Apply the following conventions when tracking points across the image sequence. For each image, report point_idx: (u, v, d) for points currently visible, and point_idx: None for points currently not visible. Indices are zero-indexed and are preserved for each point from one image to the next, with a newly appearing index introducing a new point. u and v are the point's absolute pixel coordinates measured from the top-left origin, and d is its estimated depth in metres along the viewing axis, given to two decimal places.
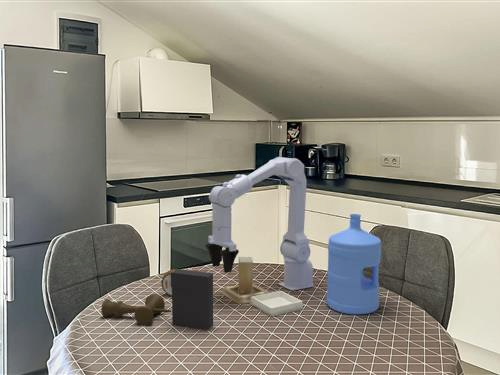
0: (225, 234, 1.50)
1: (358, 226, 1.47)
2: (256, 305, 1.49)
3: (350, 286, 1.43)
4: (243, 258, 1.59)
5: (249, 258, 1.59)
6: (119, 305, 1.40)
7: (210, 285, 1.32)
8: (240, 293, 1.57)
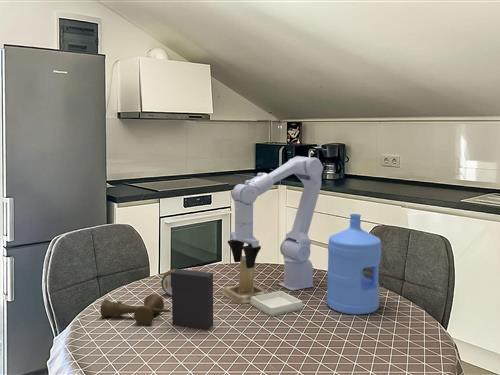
0: (247, 230, 1.54)
1: (358, 226, 1.47)
2: (256, 305, 1.49)
3: (350, 286, 1.43)
4: (245, 257, 1.59)
5: None
6: (118, 305, 1.40)
7: (210, 285, 1.32)
8: (241, 292, 1.57)
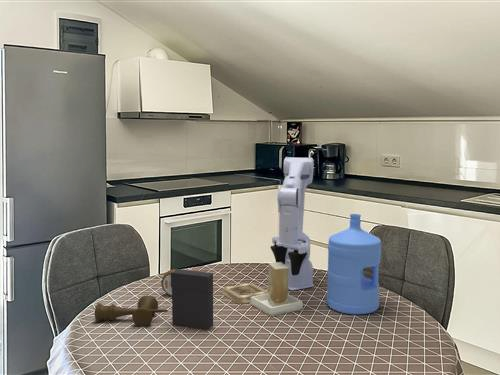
0: (293, 235, 1.47)
1: (358, 226, 1.47)
2: (256, 305, 1.49)
3: (350, 286, 1.43)
4: (275, 264, 1.49)
5: (281, 264, 1.49)
6: (113, 308, 1.38)
7: (210, 285, 1.32)
8: (275, 302, 1.47)
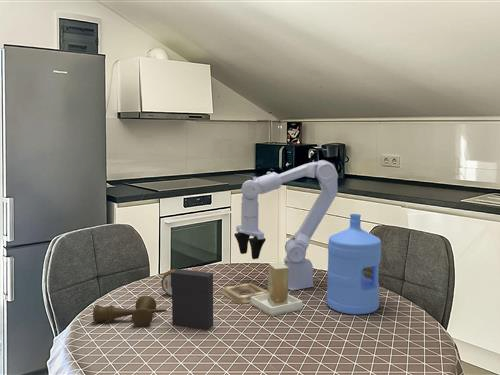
0: (253, 223, 1.65)
1: (358, 226, 1.47)
2: (256, 305, 1.49)
3: (350, 286, 1.43)
4: (275, 264, 1.49)
5: (281, 264, 1.50)
6: (111, 309, 1.37)
7: (210, 285, 1.32)
8: (275, 302, 1.47)
